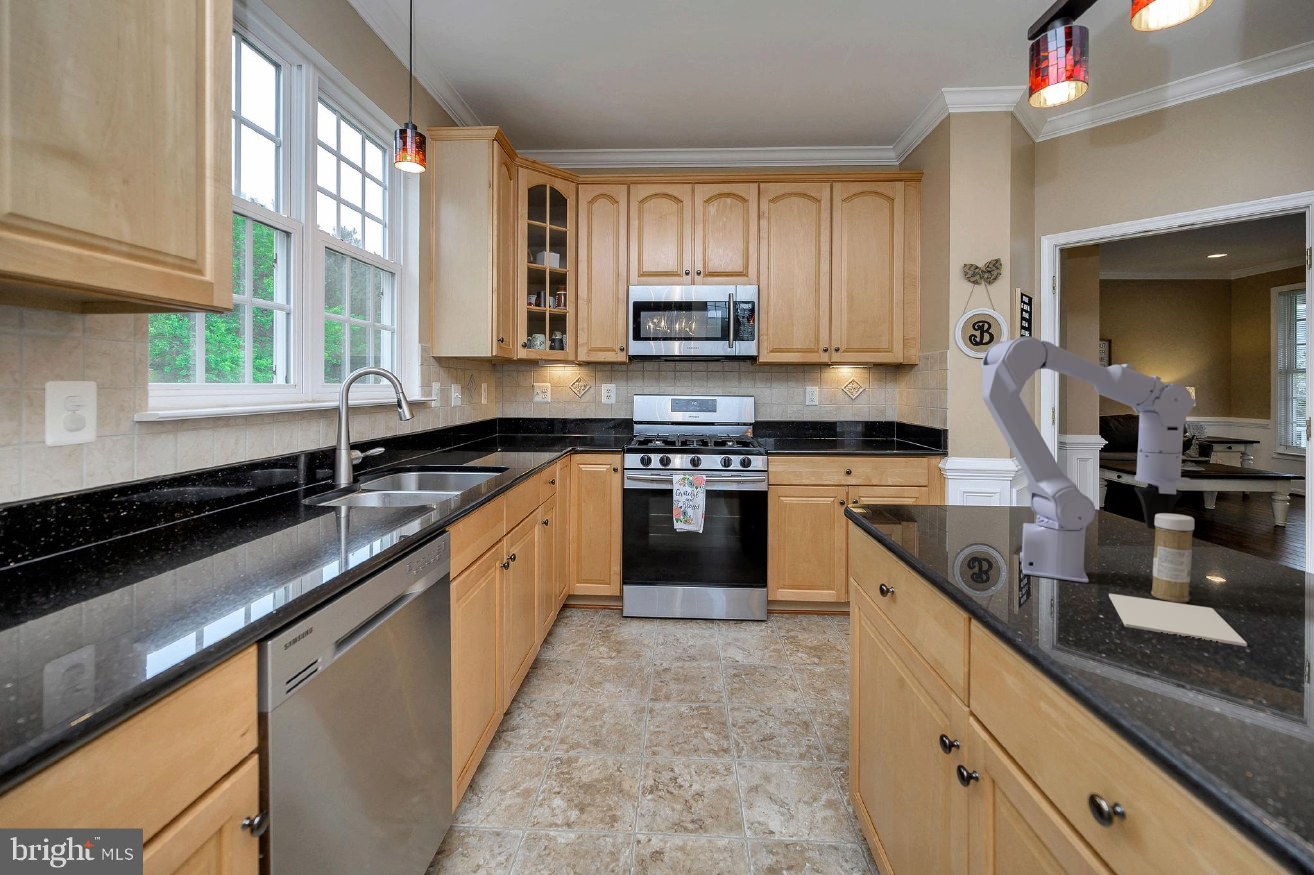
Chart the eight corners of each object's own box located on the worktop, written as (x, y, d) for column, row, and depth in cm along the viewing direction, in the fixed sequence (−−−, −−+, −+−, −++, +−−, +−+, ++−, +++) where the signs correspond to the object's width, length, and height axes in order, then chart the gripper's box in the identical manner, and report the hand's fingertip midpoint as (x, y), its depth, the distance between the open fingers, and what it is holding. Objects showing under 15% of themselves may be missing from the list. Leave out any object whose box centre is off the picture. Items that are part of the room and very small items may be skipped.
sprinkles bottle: (1158, 591, 90) (1163, 511, 89) (1195, 600, 86) (1200, 516, 85) (1144, 596, 88) (1149, 514, 87) (1181, 605, 84) (1186, 519, 83)
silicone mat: (1125, 626, 76) (1125, 623, 76) (1109, 595, 88) (1109, 593, 88) (1246, 646, 70) (1247, 643, 70) (1211, 610, 82) (1211, 607, 82)
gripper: (1203, 456, 87) (1198, 540, 88) (1179, 449, 99) (1174, 522, 100) (1145, 454, 91) (1141, 534, 92) (1128, 448, 103) (1125, 518, 104)
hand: (1155, 528), depth 96 cm, fingers closed
